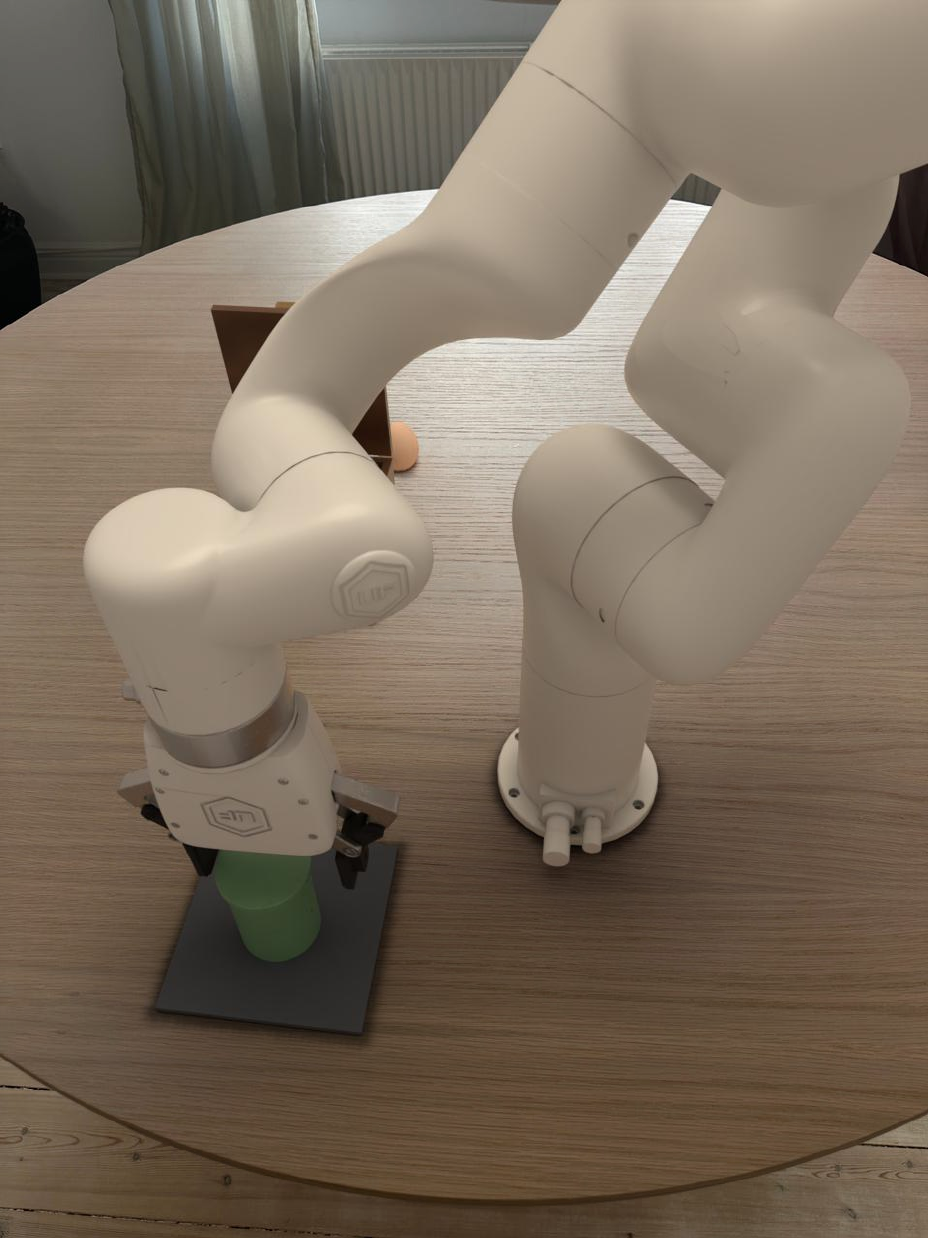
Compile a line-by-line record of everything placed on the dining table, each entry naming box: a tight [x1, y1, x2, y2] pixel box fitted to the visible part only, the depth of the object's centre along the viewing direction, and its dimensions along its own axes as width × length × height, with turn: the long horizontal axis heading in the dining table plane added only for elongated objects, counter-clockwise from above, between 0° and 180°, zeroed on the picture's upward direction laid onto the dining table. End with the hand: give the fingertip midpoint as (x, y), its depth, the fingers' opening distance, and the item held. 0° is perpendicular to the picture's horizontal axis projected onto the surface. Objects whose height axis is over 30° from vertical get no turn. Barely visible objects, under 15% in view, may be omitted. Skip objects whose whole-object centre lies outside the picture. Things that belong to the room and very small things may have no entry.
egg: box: [378, 421, 420, 472], centre depth 105 cm, size 4×4×6 cm
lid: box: [210, 301, 393, 457], centre depth 91 cm, size 15×15×5 cm
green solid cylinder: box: [215, 850, 321, 962], centre depth 66 cm, size 6×6×8 cm
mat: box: [154, 843, 399, 1036], centre depth 70 cm, size 14×14×1 cm
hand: (282, 863), depth 65 cm, fingers open, 9 cm apart
